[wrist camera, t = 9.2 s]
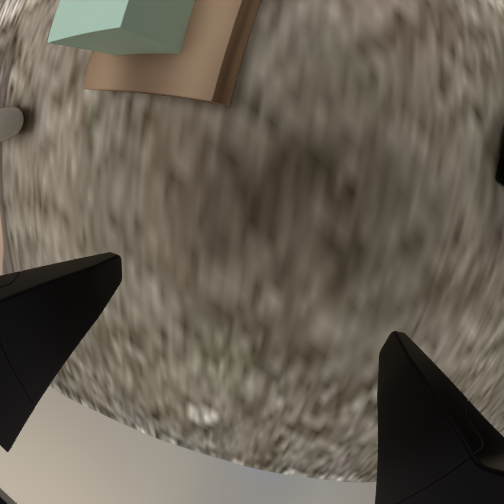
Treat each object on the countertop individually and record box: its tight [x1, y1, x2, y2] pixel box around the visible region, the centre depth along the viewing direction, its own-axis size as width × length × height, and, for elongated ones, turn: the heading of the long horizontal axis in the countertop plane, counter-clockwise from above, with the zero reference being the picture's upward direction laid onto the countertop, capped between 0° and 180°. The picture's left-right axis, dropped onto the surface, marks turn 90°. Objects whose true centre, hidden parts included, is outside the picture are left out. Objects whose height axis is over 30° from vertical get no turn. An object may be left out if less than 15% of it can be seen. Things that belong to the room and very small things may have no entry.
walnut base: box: [83, 0, 261, 106], centre depth 14 cm, size 10×10×4 cm
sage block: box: [47, 0, 195, 56], centre depth 9 cm, size 5×5×6 cm
